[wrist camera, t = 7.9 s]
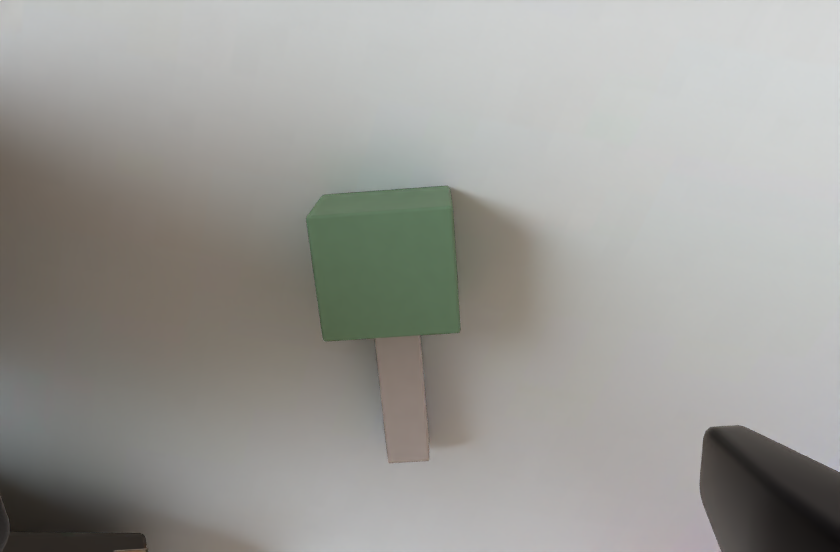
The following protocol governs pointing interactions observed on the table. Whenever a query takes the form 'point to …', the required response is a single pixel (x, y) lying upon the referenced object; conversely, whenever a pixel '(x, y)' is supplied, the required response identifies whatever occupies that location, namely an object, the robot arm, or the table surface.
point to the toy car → (75, 542)
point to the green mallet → (389, 292)
